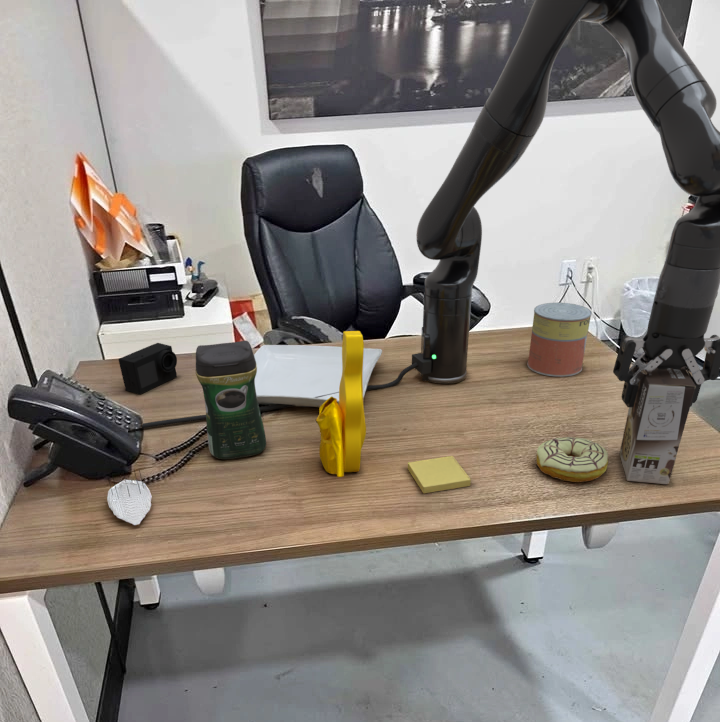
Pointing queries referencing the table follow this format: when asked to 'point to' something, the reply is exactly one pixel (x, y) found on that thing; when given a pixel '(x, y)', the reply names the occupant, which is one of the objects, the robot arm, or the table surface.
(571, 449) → the decorated donut
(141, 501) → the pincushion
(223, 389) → the coffee jar
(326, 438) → the figure statuette
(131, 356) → the digital camera
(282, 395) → the square plate
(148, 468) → the table surface
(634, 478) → the coffee box
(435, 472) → the sticky note pad
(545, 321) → the canned food
